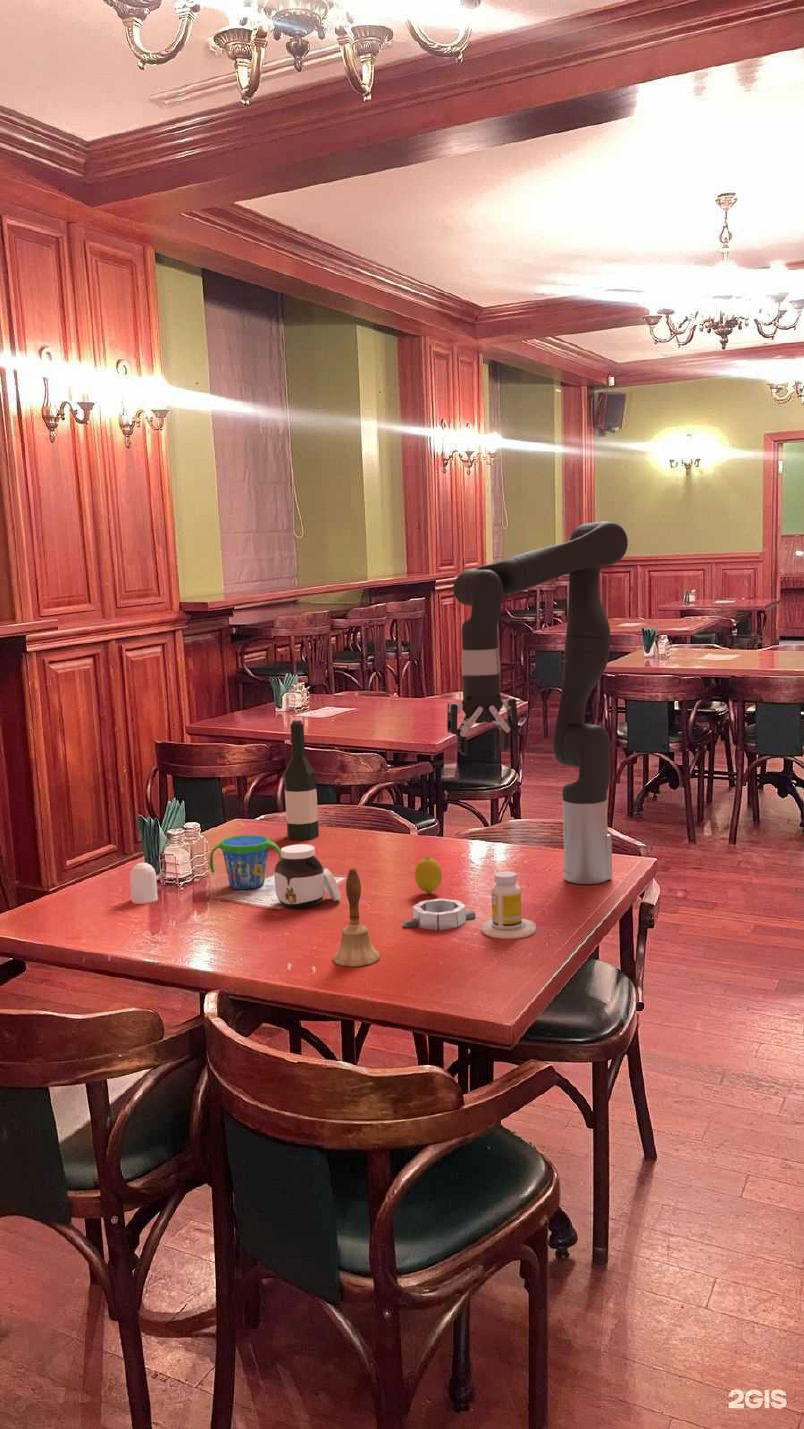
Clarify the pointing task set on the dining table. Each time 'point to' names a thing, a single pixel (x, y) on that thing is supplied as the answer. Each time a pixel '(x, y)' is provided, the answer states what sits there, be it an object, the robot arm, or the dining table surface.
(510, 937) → the plate
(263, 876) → the snack cup
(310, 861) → the spread jar
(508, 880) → the supplement bottle
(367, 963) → the hand bell
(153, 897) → the white domed cylinder
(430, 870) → the lemon
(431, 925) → the collar
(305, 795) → the wine bottle
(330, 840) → the dining table surface
